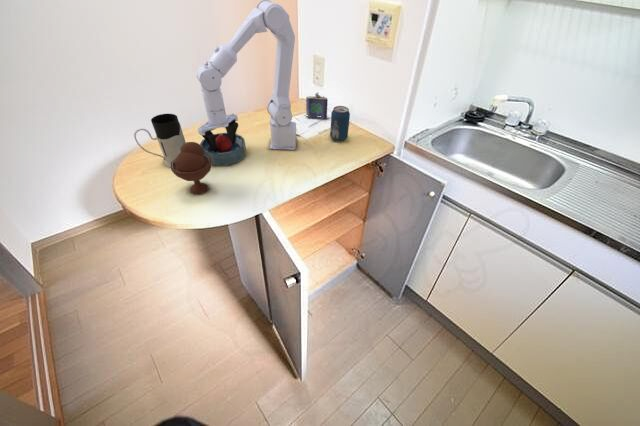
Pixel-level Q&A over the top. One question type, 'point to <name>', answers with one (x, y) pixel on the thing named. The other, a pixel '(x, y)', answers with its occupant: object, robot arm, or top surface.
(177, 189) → the top surface
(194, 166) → the ice cream bowl
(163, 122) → the glass holder
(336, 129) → the soda can
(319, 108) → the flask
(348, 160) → the top surface
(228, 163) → the bowl
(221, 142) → the pomegranate
